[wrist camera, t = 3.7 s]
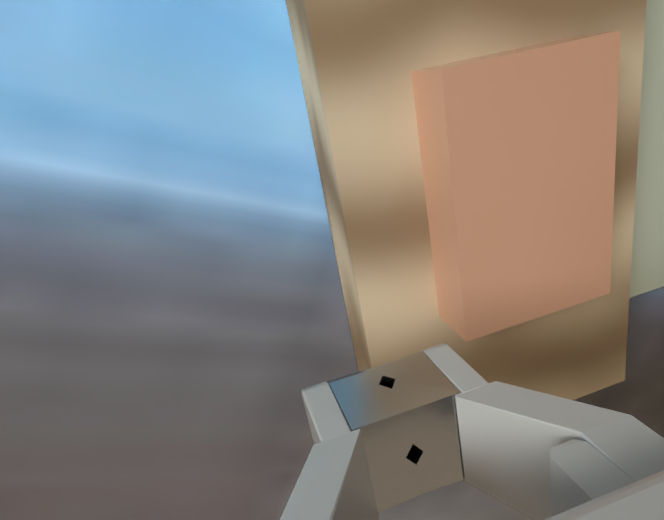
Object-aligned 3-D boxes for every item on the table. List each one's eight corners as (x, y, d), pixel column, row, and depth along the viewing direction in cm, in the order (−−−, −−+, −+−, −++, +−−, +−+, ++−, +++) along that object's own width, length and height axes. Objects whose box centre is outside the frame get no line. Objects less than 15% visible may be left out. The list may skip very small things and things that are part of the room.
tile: (410, 71, 15) (441, 69, 14) (572, 36, 17) (620, 30, 15) (439, 317, 19) (466, 341, 17) (571, 274, 20) (610, 293, 18)
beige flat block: (258, -138, 14) (271, -178, 12) (597, -177, 17) (659, -217, 15) (370, 433, 23) (390, 470, 21) (586, 354, 25) (624, 380, 23)
